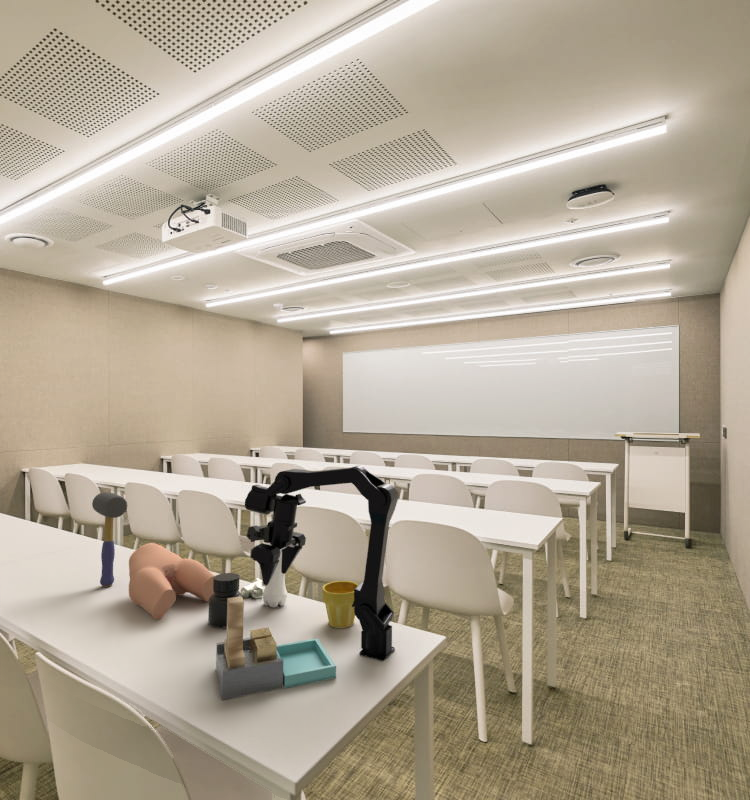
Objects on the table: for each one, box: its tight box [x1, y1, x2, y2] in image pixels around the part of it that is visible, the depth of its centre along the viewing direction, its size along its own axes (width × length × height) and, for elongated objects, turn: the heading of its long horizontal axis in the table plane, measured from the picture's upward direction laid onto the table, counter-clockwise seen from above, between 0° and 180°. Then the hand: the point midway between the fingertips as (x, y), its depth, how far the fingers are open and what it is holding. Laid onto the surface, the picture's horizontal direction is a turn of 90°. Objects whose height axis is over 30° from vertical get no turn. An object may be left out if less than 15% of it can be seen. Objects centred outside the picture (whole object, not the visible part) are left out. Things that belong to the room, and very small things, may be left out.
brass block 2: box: [254, 636, 278, 663], centre depth 102 cm, size 4×4×4 cm
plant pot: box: [321, 580, 360, 629], centre depth 131 cm, size 10×10×10 cm
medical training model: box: [128, 542, 216, 620], centre depth 146 cm, size 21×25×13 cm
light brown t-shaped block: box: [224, 596, 245, 668], centre depth 102 cm, size 3×9×12 cm, turn 23°
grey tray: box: [215, 637, 284, 701], centre depth 103 cm, size 12×13×6 cm
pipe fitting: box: [240, 578, 264, 599], centre depth 152 cm, size 8×4×7 cm
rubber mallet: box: [91, 491, 128, 588], centre depth 158 cm, size 12×8×30 cm, turn 48°
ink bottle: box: [207, 572, 244, 628], centre depth 132 cm, size 10×9×12 cm
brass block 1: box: [249, 627, 273, 657], centre depth 107 cm, size 4×4×4 cm
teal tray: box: [277, 638, 337, 689], centre depth 108 cm, size 11×14×2 cm
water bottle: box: [262, 542, 288, 608], centre depth 144 cm, size 7×7×25 cm
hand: (274, 578), depth 124 cm, fingers open, 9 cm apart
